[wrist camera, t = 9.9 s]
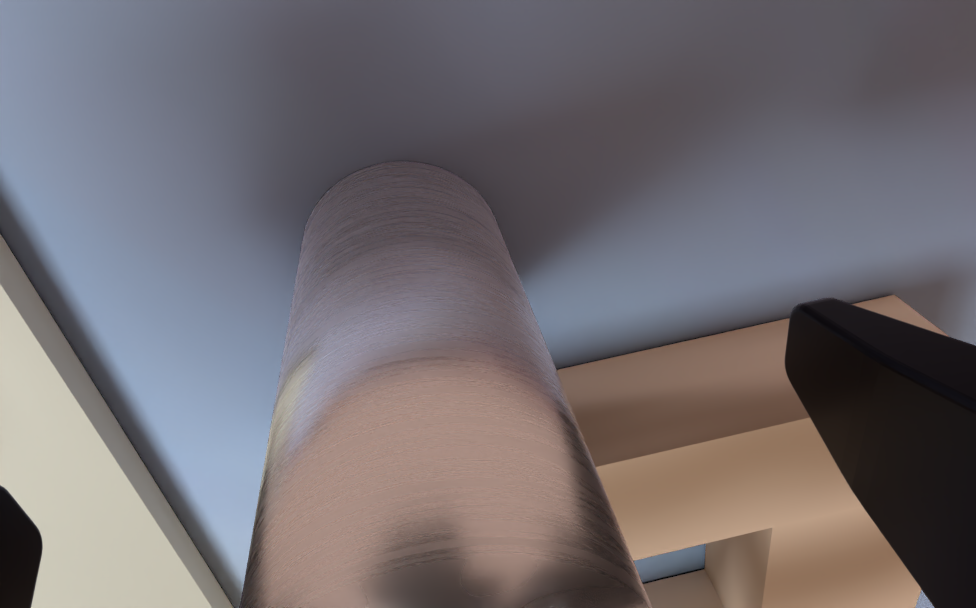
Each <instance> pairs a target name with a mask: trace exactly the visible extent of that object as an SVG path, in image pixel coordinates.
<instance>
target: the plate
mask: <svg viewBox="0 0 976 608" xmlns="http://www.w3.org/2000/svg"><path fill="white" fill-rule="evenodd" d="M0 486H2V487H4V488H5V489H6V490H8V492H9V493H10V494H11V495H12V497H13V498H14V499H15V500H16V501H17V503H18V504H19V505H20V506H21V508H22V509H23V510H24V511H25V513H26V514H27V515H28V516H29V518H30V519H31V520H32V521H33V522H34V524H35V525H36V526H37V528H38V529H39V531H40V534H41V537H42V542H43V550H42V557H41V562H40V567H39V571H38V576H37V581H36V586H35V591H34V596H33V601H32V606H31V608H233V606H232V604H231V603H230V601H229V600H228V598H227V596H226V595H225V593H224V592H223V590H222V588H221V587H220V585H219V584H218V582H217V580H216V579H215V577H214V576H213V574H212V572H211V571H210V569H209V568H208V566H207V564H206V563H205V561H204V560H203V558H202V556H201V555H200V553H199V551H198V550H197V548H196V547H195V545H194V543H193V542H192V540H191V539H190V537H189V535H188V534H187V532H186V531H185V529H184V527H183V526H182V524H181V523H180V521H179V519H178V518H177V516H176V515H175V513H174V511H173V510H172V508H171V507H170V505H169V503H168V502H167V500H166V499H165V497H164V495H163V494H162V492H161V491H160V489H159V487H158V486H157V484H156V483H155V481H154V479H153V478H152V476H151V475H150V473H149V471H148V470H147V468H146V467H145V465H144V463H143V462H142V460H141V459H140V457H139V455H138V454H137V452H136V451H135V449H134V447H133V446H132V444H131V443H130V441H129V439H128V438H127V436H126V434H125V433H124V431H123V430H122V428H121V426H120V425H119V423H118V422H117V420H116V418H115V417H114V415H113V414H112V412H111V410H110V409H109V407H108V406H107V404H106V402H105V401H104V399H103V398H102V396H101V394H100V393H99V391H98V390H97V388H96V386H95V385H94V383H93V382H92V380H91V378H90V377H89V375H88V374H87V372H86V370H85V369H84V367H83V366H82V364H81V362H80V361H79V359H78V358H77V356H76V354H75V353H74V351H73V350H72V348H71V346H70V345H69V343H68V342H67V340H66V338H65V337H64V335H63V334H62V332H61V330H60V329H59V327H58V325H57V324H56V322H55V321H54V319H53V317H52V316H51V314H50V313H49V311H48V309H47V308H46V306H45V305H44V303H43V301H42V300H41V298H40V297H39V295H38V293H37V292H36V290H35V289H34V287H33V285H32V284H31V282H30V281H29V279H28V277H27V276H26V274H25V273H24V271H23V269H22V268H21V266H20V265H19V263H18V261H17V260H16V258H15V257H14V255H13V253H12V252H11V250H10V249H9V247H8V245H7V244H6V242H5V241H4V239H3V237H2V236H1V234H0Z"/></svg>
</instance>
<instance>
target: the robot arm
mask: <svg viewBox="0 0 976 608" xmlns="http://www.w3.org/2000/svg"><path fill="white" fill-rule="evenodd" d="M785 370H786V374H787V376H788V379H789V381H790V383H791V385H792V387H793V388H794V390H795V392H796V394H797V395H798V397H799V399H800V401H801V403H802V404H803V406H804V408H805V410H806V411H807V413H808V415H809V417H810V419H811V420H812V422H813V424H814V426H815V428H816V429H817V431H818V433H819V435H820V436H821V438H822V440H823V442H824V444H825V445H826V447H827V449H828V451H829V452H830V454H831V456H832V458H833V460H834V461H835V463H836V465H837V467H838V468H839V470H840V472H841V474H842V475H843V477H844V479H845V480H846V482H847V484H848V485H849V487H850V488H851V490H852V492H853V493H854V494H855V496H856V497H857V499H858V500H859V502H860V503H861V505H862V506H863V508H864V509H865V511H866V512H867V513H868V515H869V516H870V518H871V519H872V520H873V522H874V523H875V525H876V526H877V527H878V529H879V530H880V532H881V533H882V534H883V536H884V537H885V539H886V540H887V541H888V543H889V544H890V546H891V547H892V548H893V550H894V551H895V553H896V554H897V555H898V557H899V558H900V560H901V561H902V562H903V564H904V565H905V567H906V568H907V569H908V571H909V572H910V574H911V575H912V577H913V578H914V579H915V581H916V582H917V584H918V585H919V586H920V588H921V589H922V591H923V592H924V593H925V595H926V596H927V598H928V599H929V600H930V602H931V603H932V605H933V606H934V607H935V608H976V346H975V345H972V344H969V343H966V342H963V341H960V340H957V339H954V338H951V337H948V336H945V335H942V334H939V333H936V332H933V331H930V330H927V329H924V328H921V327H918V326H915V325H912V324H909V323H906V322H903V321H900V320H897V319H894V318H891V317H888V316H885V315H882V314H879V313H876V312H873V311H870V310H867V309H864V308H861V307H858V306H855V305H852V304H849V303H846V302H843V301H840V300H837V299H834V298H823V299H818V300H814V301H809V302H805V303H800V304H798V305H797V306H795V307H794V308H793V310H792V312H791V314H790V319H789V327H788V335H787V343H786V351H785ZM42 550H43V542H42V537H41V534H40V531H39V529H38V528H37V526H36V525H35V524H34V522H33V521H32V520H31V519H30V518H29V516H28V515H27V514H26V513H25V511H24V510H23V509H22V508H21V506H20V505H19V504H18V503H17V501H16V500H15V499H14V498H13V497H12V495H11V494H10V493H9V492H8V490H6V489H5V488H4V487H2V486H0V608H31V606H32V601H33V596H34V591H35V586H36V581H37V576H38V571H39V567H40V562H41V557H42Z"/></svg>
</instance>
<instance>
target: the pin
mask: <svg viewBox="0 0 976 608" xmlns="http://www.w3.org/2000/svg"><path fill="white" fill-rule="evenodd" d="M240 608H652V606H651V603H650V601H649V599H648V596H647V594H646V591H645V589H644V586H643V584H642V581H641V579H640V576H639V574H638V571H637V569H636V566H635V564H634V561H633V559H632V556H631V554H630V551H629V549H628V546H627V544H626V541H625V539H624V536H623V534H622V532H621V529H620V527H619V524H618V522H617V519H616V517H615V514H614V512H613V509H612V507H611V504H610V502H609V499H608V497H607V494H606V492H605V489H604V487H603V484H602V482H601V479H600V477H599V474H598V472H597V470H596V467H595V465H594V462H593V460H592V457H591V455H590V452H589V450H588V447H587V445H586V442H585V440H584V437H583V435H582V432H581V430H580V427H579V425H578V422H577V420H576V417H575V415H574V412H573V410H572V408H571V405H570V403H569V400H568V398H567V395H566V393H565V390H564V388H563V385H562V383H561V380H560V378H559V375H558V373H557V370H556V368H555V365H554V363H553V360H552V358H551V355H550V353H549V350H548V348H547V345H546V343H545V341H544V338H543V336H542V333H541V331H540V328H539V326H538V323H537V321H536V318H535V316H534V313H533V311H532V308H531V306H530V303H529V301H528V298H527V296H526V293H525V291H524V288H523V286H522V283H521V281H520V279H519V276H518V274H517V271H516V269H515V266H514V264H513V261H512V259H511V256H510V254H509V251H508V249H507V246H506V244H505V241H504V239H503V236H502V234H501V231H500V229H499V226H498V224H497V221H496V219H495V217H494V214H493V212H492V211H491V209H490V207H489V205H488V204H487V202H486V201H485V200H484V198H483V197H482V196H481V195H480V193H479V192H477V191H476V190H475V189H474V188H473V187H472V186H471V185H470V184H469V183H467V182H466V181H465V180H463V179H462V178H460V177H459V176H457V175H455V174H453V173H451V172H449V171H447V170H445V169H442V168H439V167H437V166H433V165H429V164H425V163H419V162H410V161H396V162H388V163H380V164H377V165H373V166H369V167H366V168H364V169H361V170H359V171H356V172H354V173H352V174H351V175H349V176H347V177H345V178H344V179H342V180H341V181H339V182H338V183H337V184H335V185H334V186H333V187H331V188H330V190H329V191H328V192H327V193H326V194H325V195H324V196H323V197H322V198H321V199H320V201H319V202H318V203H317V205H316V206H315V207H314V209H313V211H312V213H311V215H310V217H309V219H308V221H307V224H306V227H305V230H304V235H303V240H302V246H301V252H300V257H299V263H298V269H297V275H296V281H295V287H294V293H293V299H292V304H291V310H290V316H289V322H288V328H287V334H286V340H285V346H284V351H283V357H282V363H281V369H280V375H279V381H278V387H277V393H276V398H275V404H274V410H273V416H272V422H271V428H270V434H269V440H268V445H267V451H266V457H265V463H264V469H263V475H262V481H261V487H260V492H259V498H258V504H257V510H256V516H255V522H254V528H253V534H252V539H251V545H250V551H249V557H248V563H247V569H246V575H245V581H244V586H243V592H242V598H241V604H240Z"/></svg>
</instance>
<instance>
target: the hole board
mask: <svg viewBox="0 0 976 608" xmlns="http://www.w3.org/2000/svg"><path fill="white" fill-rule="evenodd" d="M852 305H855V306H858V307H861V308H864V309H867V310H870V311H873V312H876V313H879V314H882V315H885V316H888V317H891V318H894V319H897V320H900V321H903V322H906V323H909V324H912V325H915V326H918V327H921V328H924V329H927V330H930V331H933V332H936V333H939V334H942V335H945V336H948V335H947V334H945V333H944V332H943V331H941V330H940V329H939V328H937V327H936V326H935V325H933V324H932V323H931V322H930V321H928V320H927V319H926V318H924V317H923V316H922V315H920V314H919V313H918V312H916V311H915V310H914V309H913V308H911V307H910V306H909V305H907V304H906V303H905V302H903V301H902V300H901V299H899V298H898V297H897V296H895V295H891V296H887V297H882V298H878V299H873V300H869V301H864V302H860V303H855V304H852ZM789 319H790V318H788V319H783V320H779V321H774V322H770V323H765V324H761V325H756V326H752V327H747V328H743V329H738V330H734V331H729V332H725V333H720V334H716V335H711V336H707V337H702V338H698V339H693V340H689V341H684V342H680V343H675V344H671V345H666V346H662V347H657V348H653V349H648V350H644V351H639V352H635V353H630V354H626V355H621V356H617V357H612V358H608V359H604V360H599V361H595V362H590V363H586V364H581V365H577V366H572V367H568V368H563V369H559V370H557V373H558V375H559V378H560V380H561V383H562V385H563V388H564V390H565V393H566V395H567V398H568V400H569V403H570V405H571V408H572V410H573V412H574V415H575V417H576V420H577V422H578V425H579V427H580V430H581V432H582V435H583V437H584V440H585V442H586V445H587V447H588V450H589V452H590V455H591V457H592V460H593V462H594V465H595V467H596V470H597V472H598V474H599V477H600V479H601V482H602V484H603V487H604V489H605V492H606V494H607V497H608V499H609V502H610V504H611V507H612V509H613V512H614V514H615V517H616V519H617V522H618V524H619V527H620V529H621V532H622V534H623V536H624V539H625V541H626V544H627V546H628V549H629V551H630V554H631V556H632V559H633V561H635V560H639V559H643V558H647V557H652V556H656V555H660V554H664V553H668V552H672V551H677V550H681V549H685V548H689V547H693V546H697V545H702V544H706V549H705V569H703V570H699V571H695V572H691V573H687V574H683V575H679V576H675V577H670V578H666V579H662V580H658V581H654V582H650V583H646V584H643V586H644V589H645V591H646V594H647V596H648V599H649V601H650V603H651V606H652V608H915V606H916V603H917V600H918V598H919V595H920V592H921V588H920V586H919V585H918V584H917V582H916V581H915V579H914V578H913V577H912V575H911V574H910V572H909V571H908V569H907V568H906V567H905V565H904V564H903V562H902V561H901V560H900V558H899V557H898V555H897V554H896V553H895V551H894V550H893V548H892V547H891V546H890V544H889V543H888V541H887V540H886V539H885V537H884V536H883V534H882V533H881V532H880V530H879V529H878V527H877V526H876V525H875V523H874V522H873V520H872V519H871V518H870V516H869V515H868V513H867V512H866V511H865V509H864V508H863V506H862V505H861V503H860V502H859V500H858V499H857V497H856V496H855V494H854V493H853V492H852V490H851V488H850V487H849V485H848V484H847V482H846V480H845V479H844V477H843V475H842V474H841V472H840V470H839V468H838V467H837V465H836V463H835V461H834V460H833V458H832V456H831V454H830V452H829V451H828V449H827V447H826V445H825V444H824V442H823V440H822V438H821V436H820V435H819V433H818V431H817V429H816V428H815V426H814V424H813V422H812V420H811V419H810V417H809V415H808V413H807V411H806V410H805V408H804V406H803V404H802V403H801V401H800V399H799V397H798V395H797V394H796V392H795V390H794V388H793V387H792V385H791V383H790V381H789V379H788V376H787V374H786V370H785V351H786V343H787V335H788V327H789ZM948 337H949V336H948Z"/></svg>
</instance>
